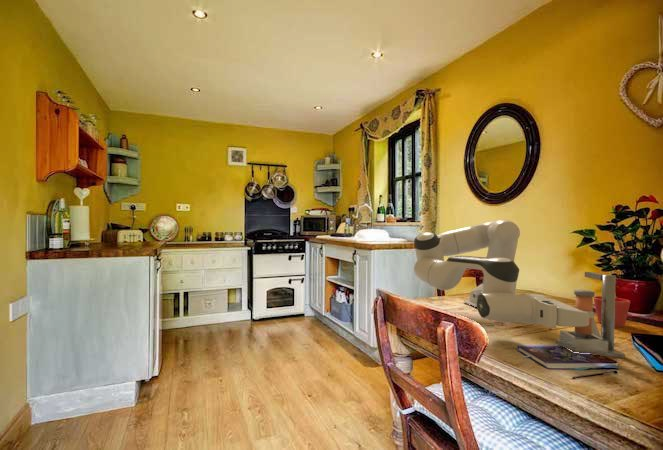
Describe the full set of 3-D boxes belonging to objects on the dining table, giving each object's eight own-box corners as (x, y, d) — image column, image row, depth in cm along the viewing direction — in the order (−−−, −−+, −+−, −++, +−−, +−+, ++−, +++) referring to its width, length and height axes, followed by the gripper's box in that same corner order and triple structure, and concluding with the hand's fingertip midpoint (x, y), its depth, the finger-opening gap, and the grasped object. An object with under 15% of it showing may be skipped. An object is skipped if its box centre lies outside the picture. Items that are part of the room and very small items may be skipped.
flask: (605, 339, 110) (606, 308, 110) (580, 337, 112) (581, 306, 112) (593, 332, 117) (594, 303, 117) (569, 330, 119) (570, 302, 119)
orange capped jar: (569, 330, 101) (570, 289, 101) (579, 329, 103) (581, 289, 103) (586, 335, 97) (587, 293, 97) (597, 334, 98) (598, 292, 98)
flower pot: (586, 319, 135) (587, 294, 136) (618, 321, 133) (619, 296, 133) (602, 326, 125) (603, 300, 125) (636, 329, 123) (637, 302, 123)
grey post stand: (573, 354, 96) (576, 276, 96) (547, 337, 110) (549, 269, 111) (625, 357, 94) (627, 278, 94) (591, 340, 109) (593, 271, 109)
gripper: (521, 311, 112) (567, 314, 110) (553, 329, 92) (609, 333, 90) (522, 292, 112) (567, 294, 110) (553, 306, 92) (610, 309, 90)
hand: (587, 312), depth 100 cm, fingers closed on orange capped jar, 4 cm apart
